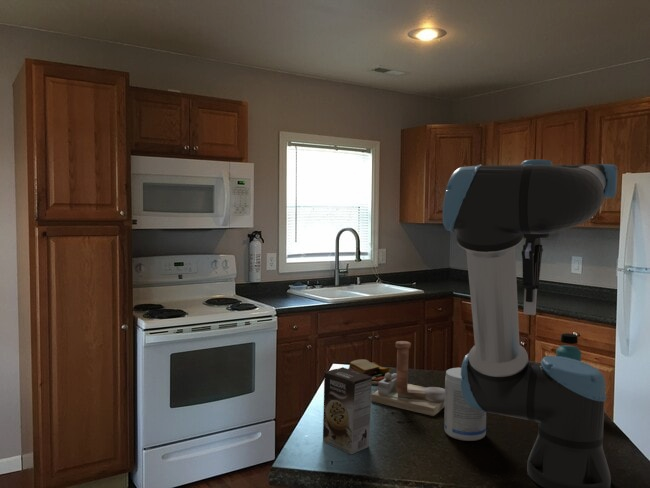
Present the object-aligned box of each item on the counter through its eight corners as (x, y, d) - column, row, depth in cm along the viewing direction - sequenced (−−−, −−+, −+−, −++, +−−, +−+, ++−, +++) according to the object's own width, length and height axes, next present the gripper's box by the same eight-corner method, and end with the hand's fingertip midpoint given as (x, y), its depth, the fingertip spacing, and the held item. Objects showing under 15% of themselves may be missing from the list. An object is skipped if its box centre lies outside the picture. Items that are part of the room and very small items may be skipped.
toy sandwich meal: (368, 388, 160) (369, 372, 160) (341, 376, 171) (341, 361, 171) (400, 381, 168) (400, 366, 167) (371, 370, 179) (372, 355, 178)
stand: (433, 416, 140) (434, 388, 139) (371, 401, 149) (371, 375, 149) (452, 400, 151) (453, 375, 151) (393, 387, 161) (394, 363, 161)
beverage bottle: (577, 413, 143) (581, 338, 142) (550, 408, 147) (554, 334, 145) (581, 406, 149) (585, 333, 147) (554, 401, 152) (558, 330, 151)
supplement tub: (494, 437, 128) (496, 375, 127) (466, 446, 123) (468, 381, 122) (462, 422, 136) (464, 364, 135) (434, 430, 131) (437, 370, 130)
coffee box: (321, 441, 123) (322, 371, 122) (340, 433, 128) (342, 366, 127) (351, 455, 117) (353, 381, 116) (370, 446, 122) (372, 375, 120)
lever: (446, 395, 149) (448, 342, 147) (447, 402, 143) (449, 348, 142) (394, 391, 151) (395, 339, 150) (393, 398, 145) (395, 345, 144)
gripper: (524, 220, 146) (520, 308, 148) (512, 221, 135) (507, 316, 137) (554, 221, 142) (550, 311, 144) (544, 222, 131) (539, 320, 133)
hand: (529, 313), depth 140 cm, fingers closed
